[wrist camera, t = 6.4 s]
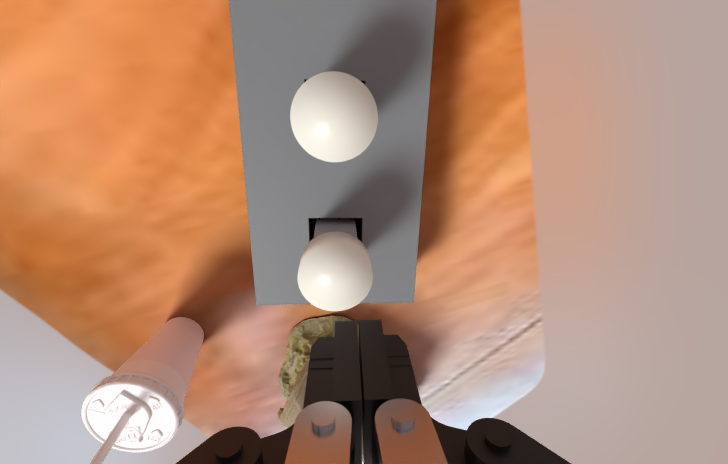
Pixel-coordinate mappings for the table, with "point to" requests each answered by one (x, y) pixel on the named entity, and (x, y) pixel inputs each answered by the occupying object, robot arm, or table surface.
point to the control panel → (321, 178)
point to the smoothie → (145, 392)
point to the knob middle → (334, 116)
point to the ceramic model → (302, 364)
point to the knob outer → (335, 266)
